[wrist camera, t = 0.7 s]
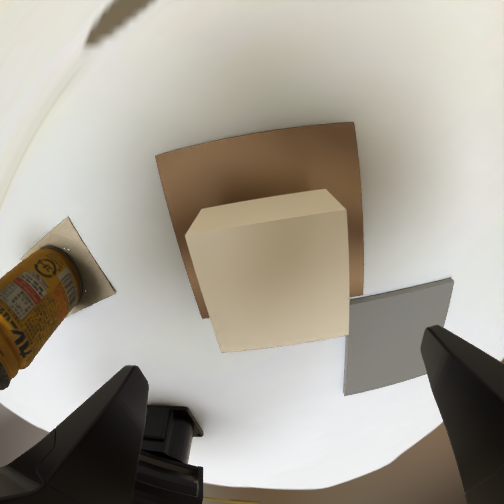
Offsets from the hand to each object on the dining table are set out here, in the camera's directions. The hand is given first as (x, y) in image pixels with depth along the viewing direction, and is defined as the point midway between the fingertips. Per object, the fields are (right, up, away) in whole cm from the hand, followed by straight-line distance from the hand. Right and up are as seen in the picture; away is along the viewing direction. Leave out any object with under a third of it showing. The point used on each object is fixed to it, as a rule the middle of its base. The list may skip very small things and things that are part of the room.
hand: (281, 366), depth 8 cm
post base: (0, +5, +11) cm, 12 cm away
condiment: (-17, +1, +13) cm, 22 cm away
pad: (+12, -5, +15) cm, 20 cm away
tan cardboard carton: (0, +3, +7) cm, 8 cm away
